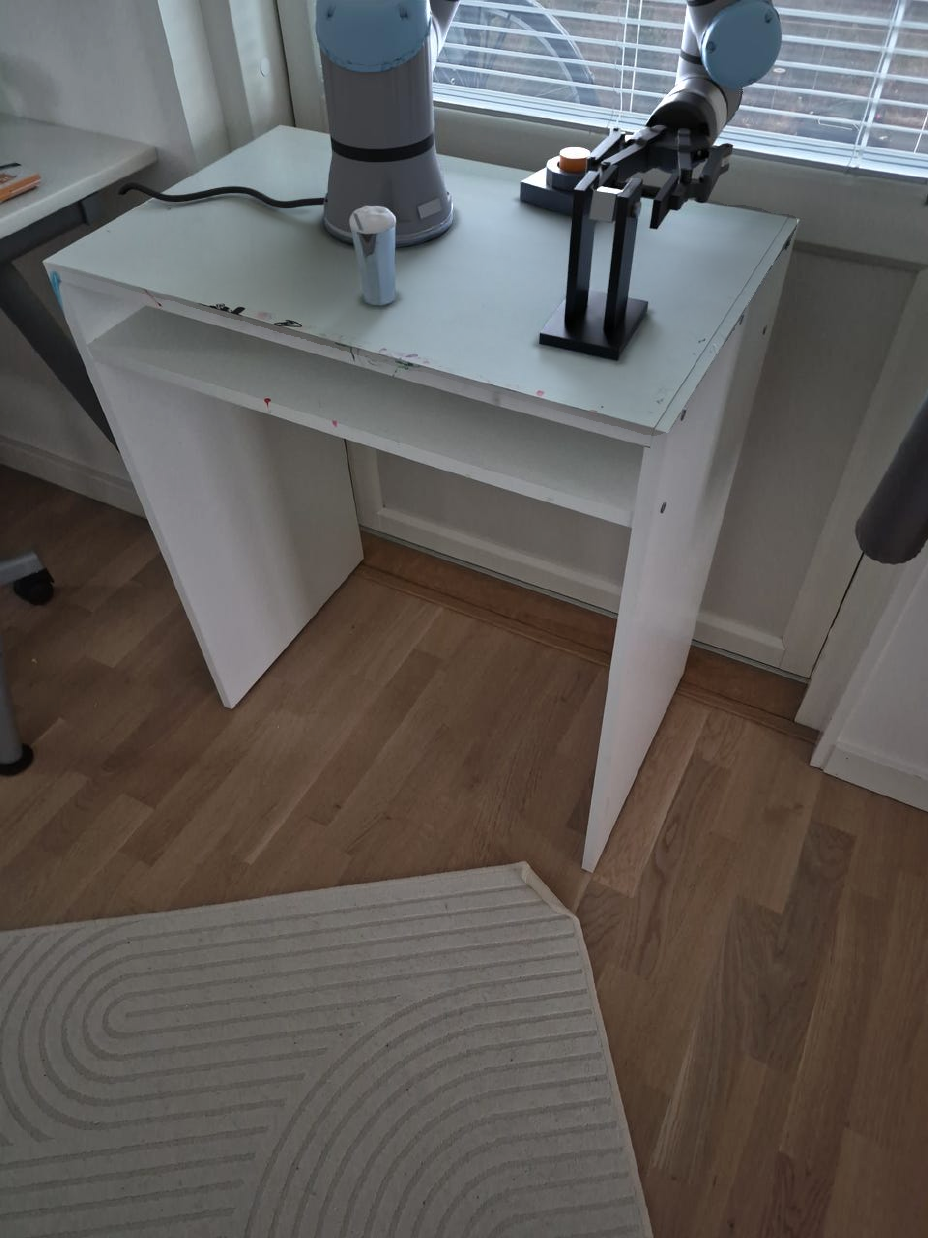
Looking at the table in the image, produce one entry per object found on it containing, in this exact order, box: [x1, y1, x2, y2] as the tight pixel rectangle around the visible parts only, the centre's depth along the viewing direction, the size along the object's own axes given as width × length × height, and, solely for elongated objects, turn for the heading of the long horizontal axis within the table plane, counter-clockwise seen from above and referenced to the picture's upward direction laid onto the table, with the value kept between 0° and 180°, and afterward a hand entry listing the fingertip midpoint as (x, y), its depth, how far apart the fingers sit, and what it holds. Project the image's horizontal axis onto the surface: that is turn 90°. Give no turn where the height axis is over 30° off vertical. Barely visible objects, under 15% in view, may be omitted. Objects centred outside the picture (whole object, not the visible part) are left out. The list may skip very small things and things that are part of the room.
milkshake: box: [349, 206, 396, 306], centre depth 89 cm, size 4×5×10 cm
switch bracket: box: [538, 171, 649, 362], centre depth 83 cm, size 10×8×14 cm
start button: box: [559, 146, 591, 172], centre depth 105 cm, size 4×4×2 cm
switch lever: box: [589, 180, 663, 224], centre depth 83 cm, size 14×6×2 cm, turn 156°
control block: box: [519, 155, 627, 217], centre depth 107 cm, size 10×8×4 cm
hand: (623, 209), depth 85 cm, fingers closed on switch lever, 5 cm apart
